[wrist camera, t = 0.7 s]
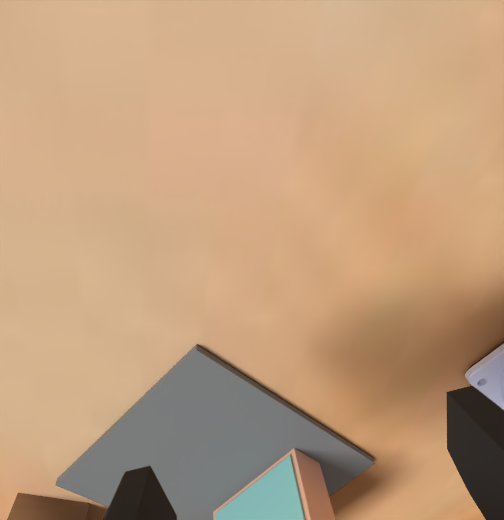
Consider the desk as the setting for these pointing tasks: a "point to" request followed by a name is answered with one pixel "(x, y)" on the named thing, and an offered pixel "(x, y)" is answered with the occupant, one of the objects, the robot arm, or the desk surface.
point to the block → (282, 493)
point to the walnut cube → (47, 508)
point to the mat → (208, 440)
